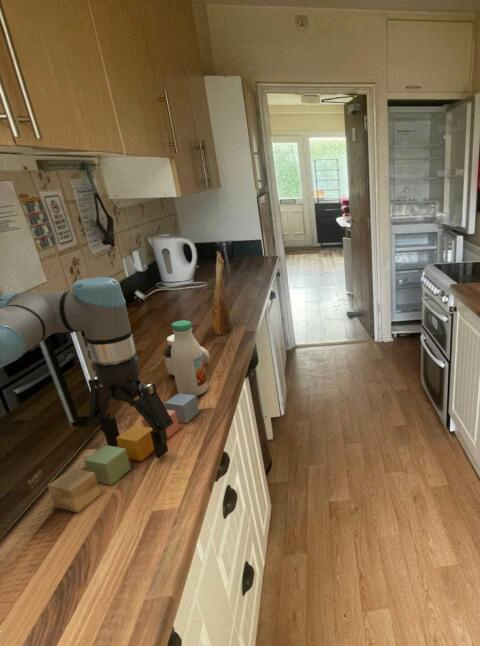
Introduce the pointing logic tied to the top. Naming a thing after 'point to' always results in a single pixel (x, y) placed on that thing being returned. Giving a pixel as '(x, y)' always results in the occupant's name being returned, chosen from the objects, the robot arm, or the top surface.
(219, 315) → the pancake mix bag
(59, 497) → the birch block
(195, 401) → the blue-grey block
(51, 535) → the top surface
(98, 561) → the top surface
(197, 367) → the milk bottle
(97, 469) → the sage block
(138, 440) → the ochre block
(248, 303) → the top surface
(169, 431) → the dusty pink block
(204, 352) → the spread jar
